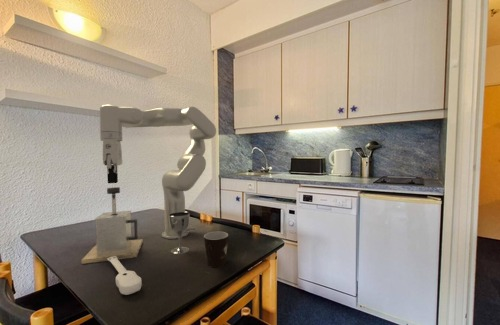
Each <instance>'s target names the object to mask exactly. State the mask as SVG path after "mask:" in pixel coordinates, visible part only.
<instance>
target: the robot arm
mask: <svg viewBox="0 0 500 325" xmlns="http://www.w3.org/2000/svg"><path fill="white" fill-rule="evenodd" d="M190 125H191V126H190ZM182 126H184V127H185V126H190V128H189V132H188V133H189V138H190V144H189V146H188V148H186V150H185V151H184V153H183V154H181V156H180V157H179V159H178V161H177V165H176V166H177V168H178V169H171V170H168V171H166V172H165V173H164V174H163V175H162V178H161V186H162V191H163V197H164V198H163V201H164V207H163V208H164V231H163V232H162V233H161V237H162V238H163V239H167V240H170V239H171V240H174V239H178V236H177V234H176V233H175V232H174V231H173V230H172V229H171V227H170V222H169V214H171V213H174V212H186V198H185V193H184V192H187V191H189V190H191V189H192V188H193V187H194V186H195V184H196V183H197V181H198V180H199V179H200V177H201V176H202V174H203V173H204V172H205V170H206V166H207V161H206V158H205V156H204V154H205V151H206V143H205V140H210V139H214V137H215V136H216V134H217V128H216V125H215V124H214V123H213V122H212V121H211V120H210V118H208V117H207V116H206V114H204V113H203V112H202V111H201V110H200V109H199V108H197V107H195V106H188V107H184V108H183V107H181V108H176V107H175V108H171V107H157V108H153V109H148V110H141V108H140V109H139V108H137V107H133V106H117V105H113V104H103V105H101V106H100V107H99V130H100V131H99V133H100V138H99V139H100V141H102V164H103V165H104V166H106V171H107V183H108V184H117V183H118V182H119V180H118V166H121V165H123V156H122V155H123V152H122V143H121V142H123V128H125V129H127V128H128V129H129V128H130V129H131V128H149V127H150V128H156V127H157V128H159V127H160V128H161V127H182ZM192 230H196V225H192V224H189V225H188V228H187V229H186V230H185V232H184V233H183V235H182V237H181V238H184V237H187V236H188V235H189V233H190V231H192Z"/></svg>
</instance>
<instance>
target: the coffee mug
mask: <svg viewBox="0 0 500 325" xmlns="http://www.w3.org/2000/svg"><path fill="white" fill-rule="evenodd" d="M228 239H229V234H228V233H227V232H225V231H221V230H220V231H219V230H217V231H210V232H207V233H205V234H204V235H203V240H204V246H205V254H206V263H207V266H208V265H209V266H208V267H210V266H212V267H211V268H220V267H219V266H221V267H223V266H225V265H226V264H227V263H226V262H227V253H228V252H227V251H228V241H229V240H228ZM224 264H225V265H224ZM222 265H223V266H222Z"/></svg>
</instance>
